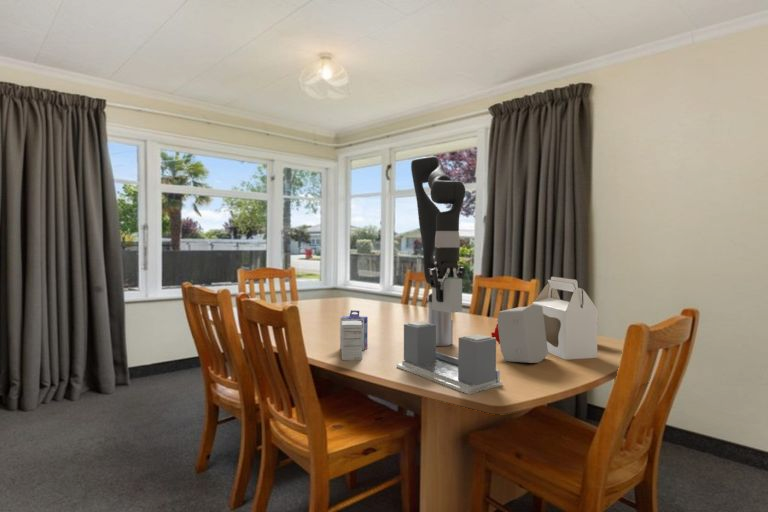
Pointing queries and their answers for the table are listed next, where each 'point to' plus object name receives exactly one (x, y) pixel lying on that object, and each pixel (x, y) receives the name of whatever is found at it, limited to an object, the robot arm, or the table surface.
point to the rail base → (447, 374)
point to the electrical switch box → (522, 334)
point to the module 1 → (419, 342)
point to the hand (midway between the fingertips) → (446, 300)
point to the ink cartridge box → (364, 326)
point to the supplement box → (351, 340)
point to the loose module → (449, 296)
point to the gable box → (569, 320)
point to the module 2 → (477, 359)
